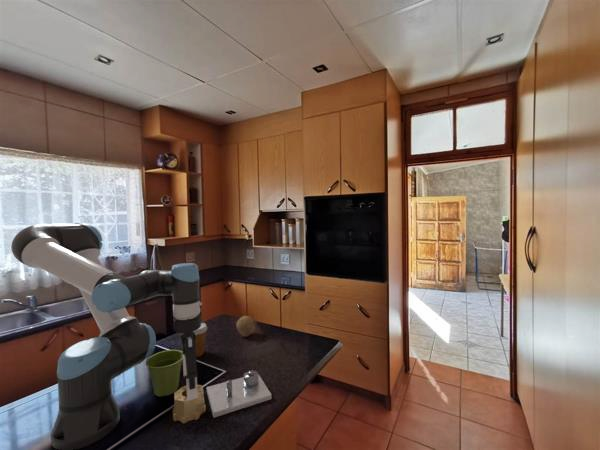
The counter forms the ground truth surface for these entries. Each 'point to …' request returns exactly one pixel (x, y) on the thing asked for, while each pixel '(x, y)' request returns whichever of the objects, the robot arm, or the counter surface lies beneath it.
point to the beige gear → (188, 405)
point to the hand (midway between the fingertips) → (190, 386)
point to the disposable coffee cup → (200, 339)
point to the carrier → (237, 394)
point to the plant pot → (165, 371)
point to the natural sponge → (245, 326)
